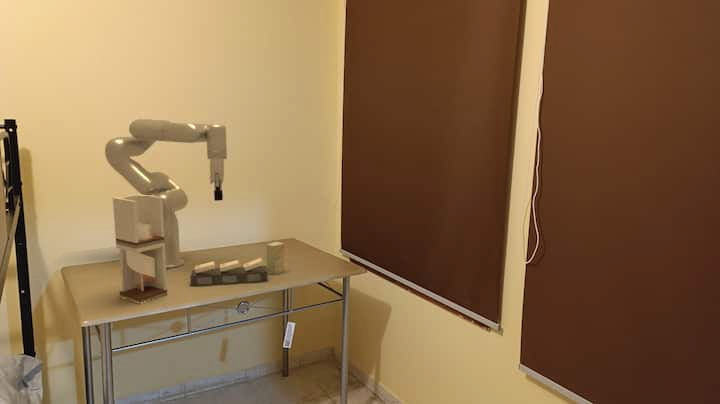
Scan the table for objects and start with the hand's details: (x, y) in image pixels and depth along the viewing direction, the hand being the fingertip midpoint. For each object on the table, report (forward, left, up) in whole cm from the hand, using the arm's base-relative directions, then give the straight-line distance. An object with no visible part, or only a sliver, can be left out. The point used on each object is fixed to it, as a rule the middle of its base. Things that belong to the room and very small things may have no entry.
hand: (218, 200), depth 195 cm
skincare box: (+22, -10, -29) cm, 38 cm away
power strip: (+4, -17, -29) cm, 34 cm away
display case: (-25, -28, -29) cm, 48 cm away
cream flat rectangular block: (+4, -17, -23) cm, 29 cm away
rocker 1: (-5, -17, -23) cm, 29 cm away
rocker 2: (+13, -17, -23) cm, 31 cm away
